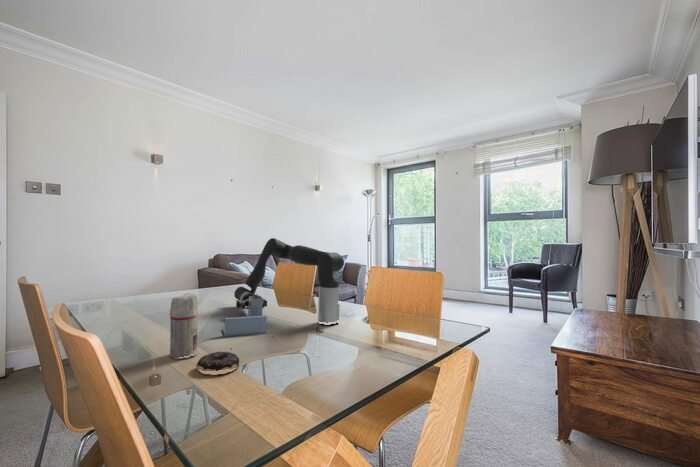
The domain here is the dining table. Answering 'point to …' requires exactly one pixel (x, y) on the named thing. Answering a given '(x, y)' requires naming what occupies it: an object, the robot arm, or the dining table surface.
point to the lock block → (255, 305)
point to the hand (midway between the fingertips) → (253, 306)
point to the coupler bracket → (245, 325)
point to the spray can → (183, 325)
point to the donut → (218, 361)
